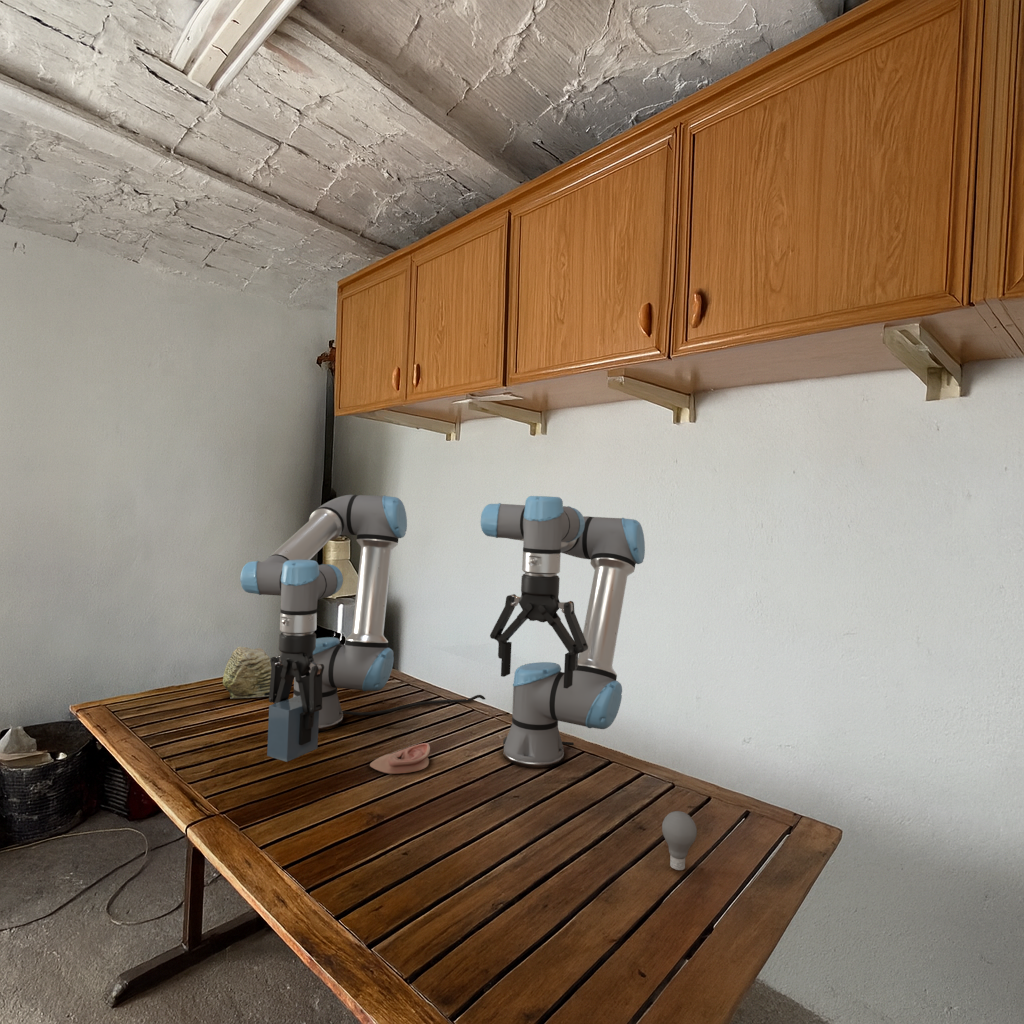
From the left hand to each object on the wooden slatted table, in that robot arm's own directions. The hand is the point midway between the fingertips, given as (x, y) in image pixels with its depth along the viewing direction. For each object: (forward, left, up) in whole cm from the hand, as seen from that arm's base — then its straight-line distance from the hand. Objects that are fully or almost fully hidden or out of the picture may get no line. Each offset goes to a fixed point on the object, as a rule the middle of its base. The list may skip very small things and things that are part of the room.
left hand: (293, 739), depth 136 cm
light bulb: (-30, +75, -11) cm, 81 cm away
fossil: (-27, -65, -11) cm, 71 cm away
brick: (0, 0, -3) cm, 3 cm away
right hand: (-24, +46, +18) cm, 55 cm away
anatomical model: (-25, +7, -11) cm, 28 cm away
